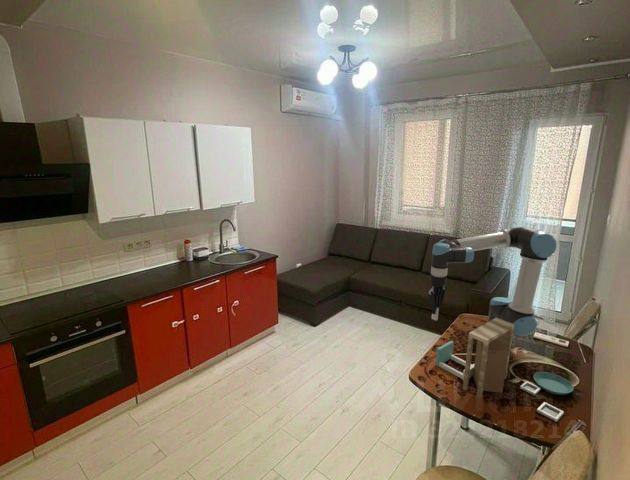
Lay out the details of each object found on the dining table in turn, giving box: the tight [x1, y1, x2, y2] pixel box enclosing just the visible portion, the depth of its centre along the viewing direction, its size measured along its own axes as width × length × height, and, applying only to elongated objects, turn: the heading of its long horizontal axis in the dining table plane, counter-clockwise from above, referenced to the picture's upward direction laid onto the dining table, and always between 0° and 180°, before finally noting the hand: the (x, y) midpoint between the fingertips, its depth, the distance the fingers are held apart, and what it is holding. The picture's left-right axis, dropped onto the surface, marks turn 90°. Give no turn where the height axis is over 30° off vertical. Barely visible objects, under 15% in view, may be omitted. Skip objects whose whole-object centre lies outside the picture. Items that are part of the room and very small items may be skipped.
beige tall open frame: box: [462, 318, 514, 400], centre depth 152 cm, size 23×8×28 cm, turn 126°
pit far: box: [536, 401, 565, 423], centre depth 137 cm, size 7×7×1 cm
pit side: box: [519, 380, 542, 397], centre depth 151 cm, size 6×6×1 cm
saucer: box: [533, 371, 575, 396], centre depth 152 cm, size 15×15×3 cm
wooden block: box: [472, 339, 508, 394], centre depth 152 cm, size 10×10×20 cm
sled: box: [434, 340, 474, 381], centre depth 165 cm, size 12×16×9 cm
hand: (434, 319), depth 172 cm, fingers closed
